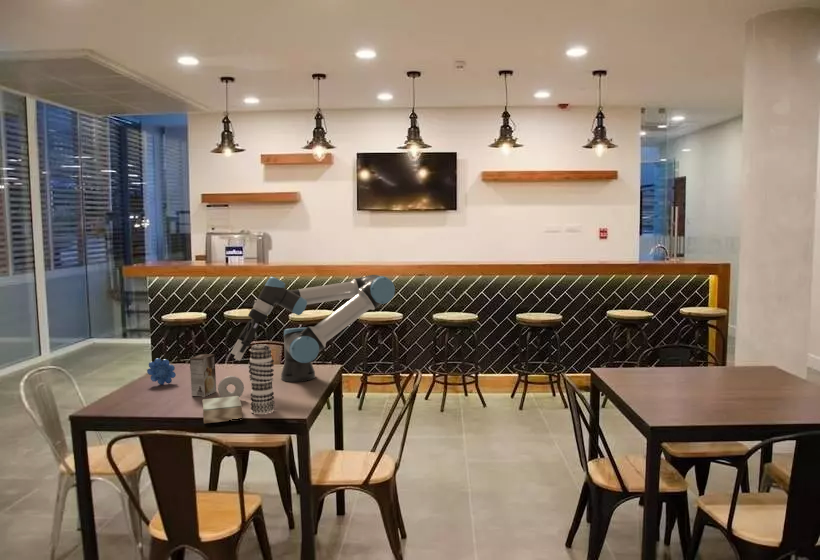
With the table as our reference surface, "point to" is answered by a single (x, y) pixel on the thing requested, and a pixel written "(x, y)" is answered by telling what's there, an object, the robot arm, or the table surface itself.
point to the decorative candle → (261, 379)
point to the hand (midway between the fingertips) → (235, 356)
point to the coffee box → (203, 375)
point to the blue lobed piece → (161, 371)
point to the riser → (221, 409)
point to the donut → (234, 381)
